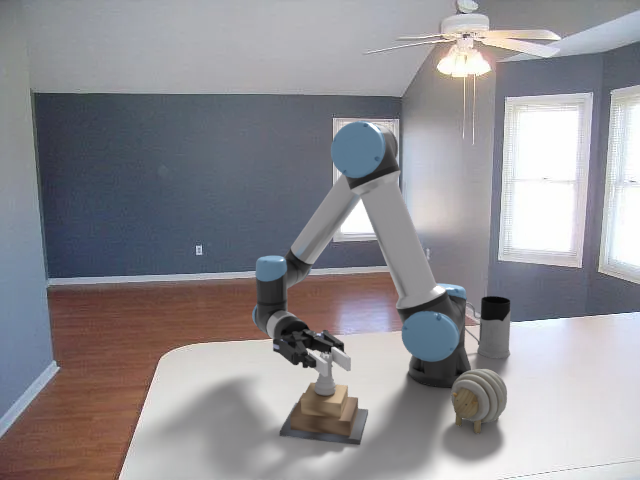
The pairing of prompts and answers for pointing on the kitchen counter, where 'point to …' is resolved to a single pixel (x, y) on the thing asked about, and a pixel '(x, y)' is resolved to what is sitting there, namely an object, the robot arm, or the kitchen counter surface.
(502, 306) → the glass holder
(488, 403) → the toy sheep
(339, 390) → the plinth
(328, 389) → the rook chess piece
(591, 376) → the kitchen counter surface
